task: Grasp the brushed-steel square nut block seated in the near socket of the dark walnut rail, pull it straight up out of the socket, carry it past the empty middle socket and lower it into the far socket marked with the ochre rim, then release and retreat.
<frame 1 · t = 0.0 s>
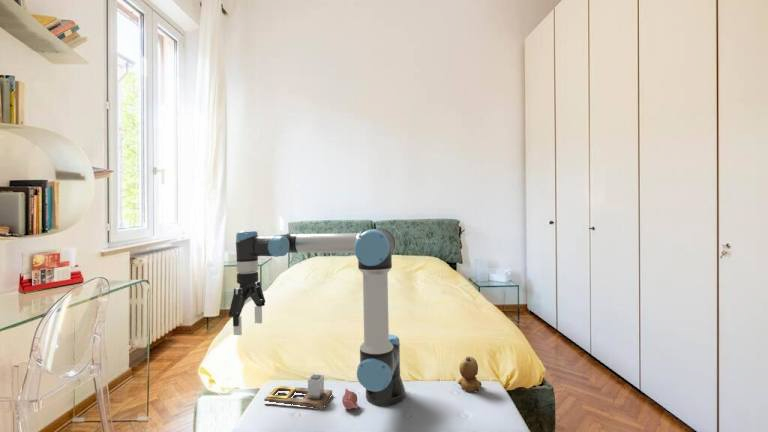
hand: (248, 328, 131), 28 cm above the table, fingers open, 13 cm apart
nut block: (316, 401, 132), resting in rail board
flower: (350, 408, 127), on the table
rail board: (298, 399, 133), on the table
figurine: (469, 390, 139), on the table
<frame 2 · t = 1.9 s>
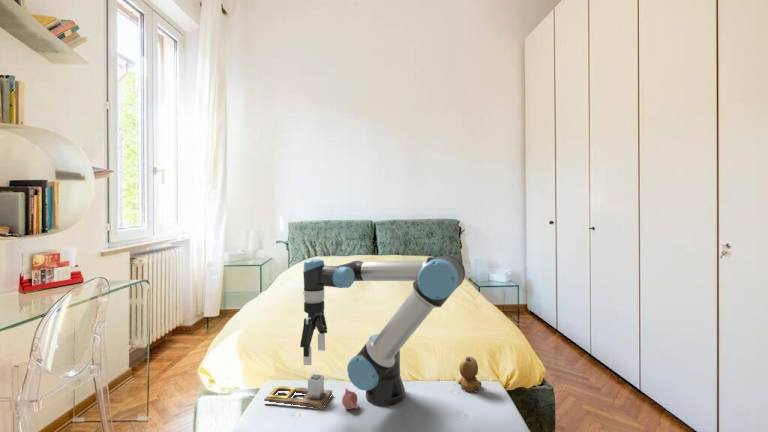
hand: (314, 357, 132), 17 cm above the table, fingers open, 13 cm apart
nothing on the table moved.
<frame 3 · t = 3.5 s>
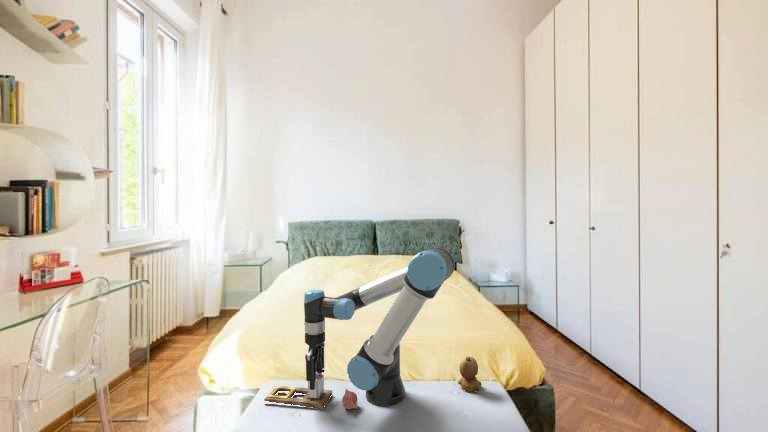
hand: (316, 393, 132), 3 cm above the table, fingers closed on nut block, 4 cm apart
nut block: (316, 401, 132), resting in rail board, touching gripper
everything else where it was.
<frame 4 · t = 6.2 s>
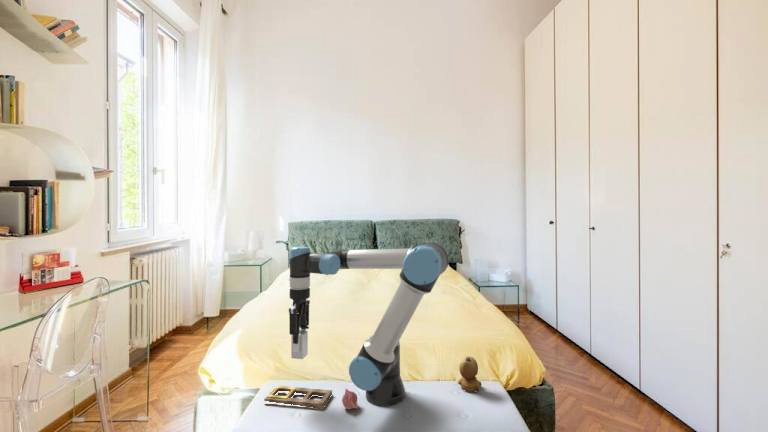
hand: (299, 348, 133), 19 cm above the table, fingers closed on nut block, 4 cm apart
nut block: (299, 356, 133), point 16 cm above the table, touching gripper
everything else where it was.
when the fingers open (4 cm above the table, at t = 9.0 s): nut block drops 1 cm, resting in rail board.
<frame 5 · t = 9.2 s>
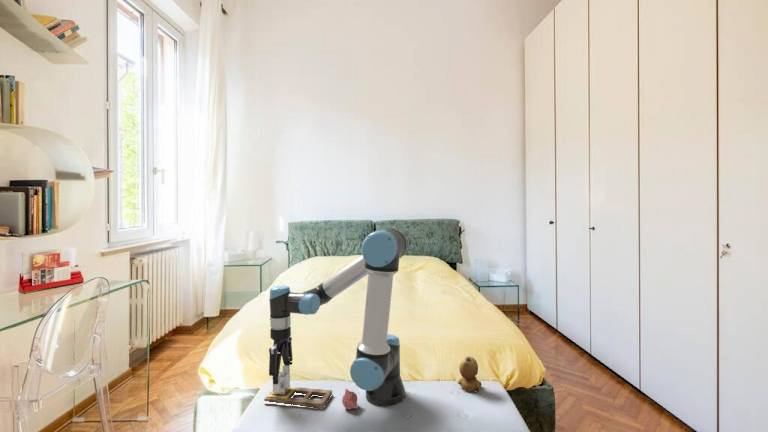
hand: (281, 386, 135), 4 cm above the table, fingers open, 7 cm apart
nut block: (282, 398, 135), resting in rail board
everything else where it was.
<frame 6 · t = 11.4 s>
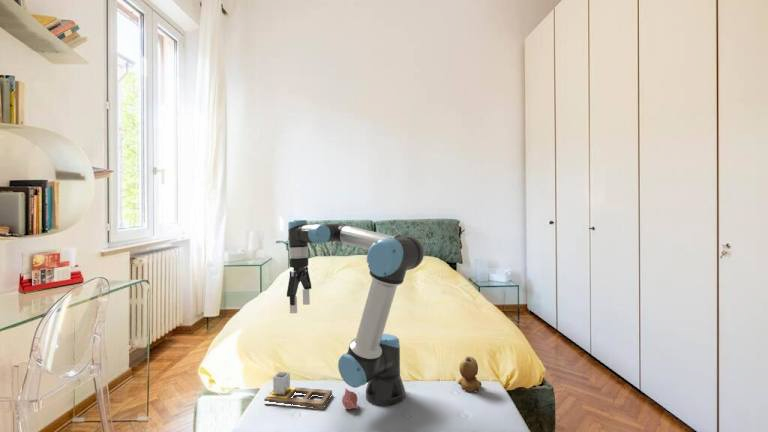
hand: (300, 308, 145), 32 cm above the table, fingers open, 13 cm apart
nothing on the table moved.
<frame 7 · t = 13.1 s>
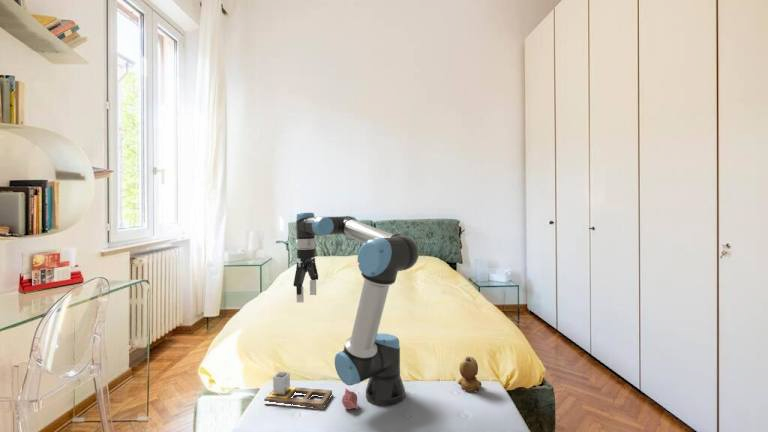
hand: (307, 298, 150), 35 cm above the table, fingers open, 13 cm apart
nothing on the table moved.
at the end: nut block 0.0 cm from the target spot, resting in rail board; nut block tilted 0°; the gripper is holding nothing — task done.
